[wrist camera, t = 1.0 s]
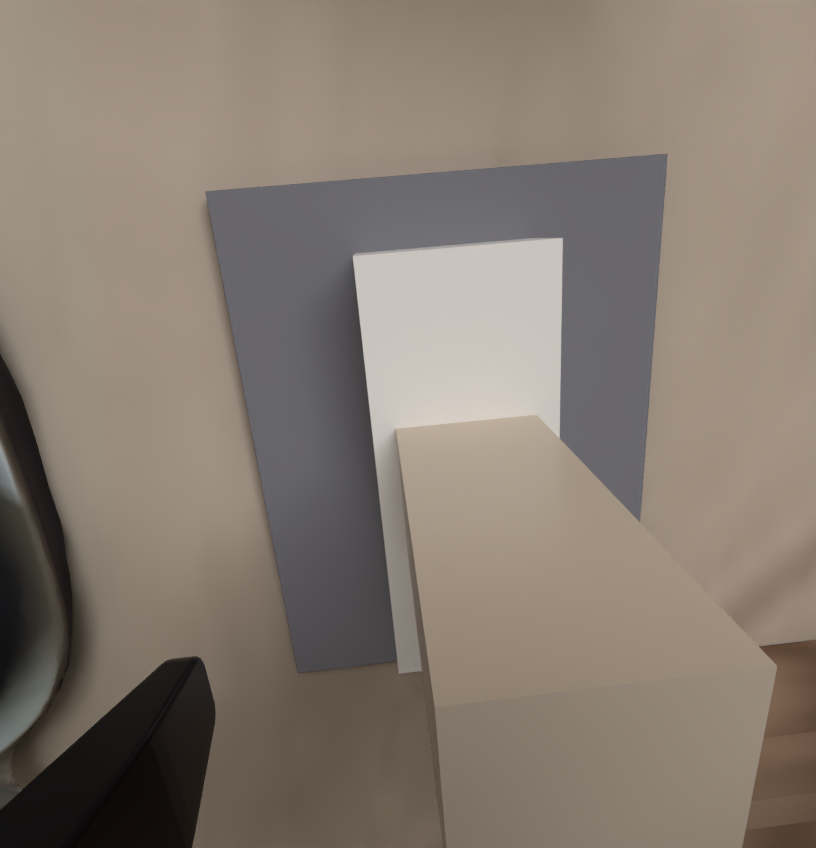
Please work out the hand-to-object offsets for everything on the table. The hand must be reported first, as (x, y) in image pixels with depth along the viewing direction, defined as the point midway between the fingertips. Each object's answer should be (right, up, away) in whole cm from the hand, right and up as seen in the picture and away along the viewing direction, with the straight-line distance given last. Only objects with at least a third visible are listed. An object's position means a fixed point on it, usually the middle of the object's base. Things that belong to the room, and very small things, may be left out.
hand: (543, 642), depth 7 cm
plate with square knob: (-1, +2, +7) cm, 7 cm away
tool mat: (-1, +2, +7) cm, 7 cm away
